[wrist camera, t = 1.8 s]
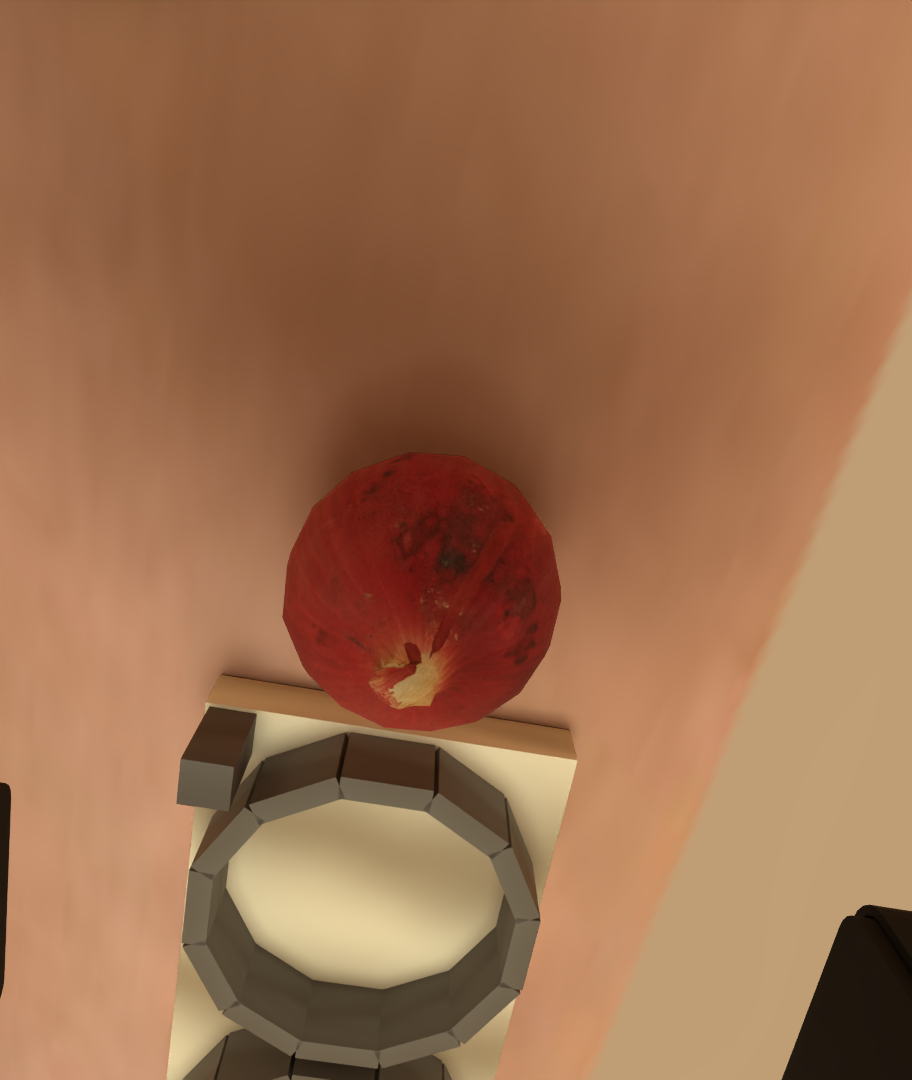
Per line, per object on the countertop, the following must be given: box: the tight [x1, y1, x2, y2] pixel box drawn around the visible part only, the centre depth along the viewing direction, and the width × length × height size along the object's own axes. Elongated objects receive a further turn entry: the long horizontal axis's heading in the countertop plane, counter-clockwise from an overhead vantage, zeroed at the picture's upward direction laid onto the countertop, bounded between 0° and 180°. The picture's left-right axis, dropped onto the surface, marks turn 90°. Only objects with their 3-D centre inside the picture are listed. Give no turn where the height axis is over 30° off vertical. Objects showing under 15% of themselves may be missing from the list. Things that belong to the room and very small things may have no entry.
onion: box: [283, 452, 561, 732], centre depth 18 cm, size 6×6×8 cm
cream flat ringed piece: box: [167, 675, 578, 1080], centre depth 24 cm, size 18×10×4 cm, turn 170°
